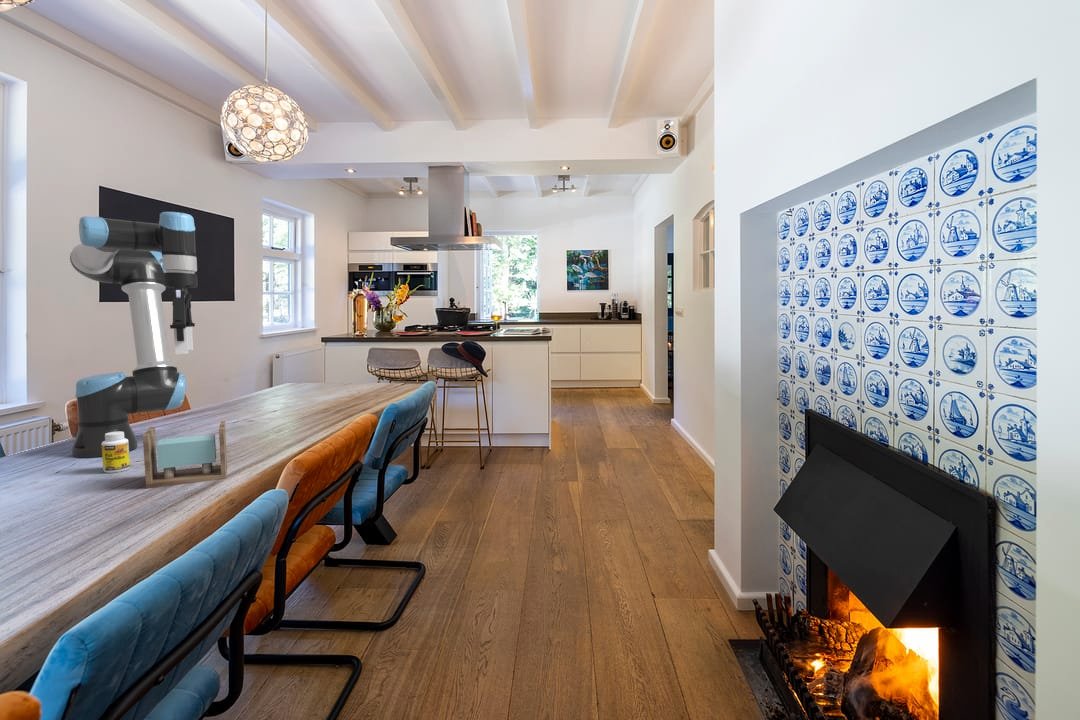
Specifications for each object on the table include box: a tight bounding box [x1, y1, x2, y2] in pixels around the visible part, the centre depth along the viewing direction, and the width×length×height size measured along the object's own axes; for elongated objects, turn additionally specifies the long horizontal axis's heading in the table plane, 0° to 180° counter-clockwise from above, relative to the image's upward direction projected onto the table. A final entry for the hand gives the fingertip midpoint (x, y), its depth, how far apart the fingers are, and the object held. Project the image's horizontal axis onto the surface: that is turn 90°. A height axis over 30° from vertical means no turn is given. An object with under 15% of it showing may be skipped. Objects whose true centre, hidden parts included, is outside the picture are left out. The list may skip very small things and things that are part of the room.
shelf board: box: [156, 433, 217, 470], centre depth 132 cm, size 6×12×6 cm, turn 121°
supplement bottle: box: [101, 431, 131, 474], centre depth 138 cm, size 6×6×10 cm
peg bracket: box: [142, 420, 228, 489], centre depth 132 cm, size 10×16×13 cm, turn 119°
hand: (184, 352), depth 139 cm, fingers open, 13 cm apart
